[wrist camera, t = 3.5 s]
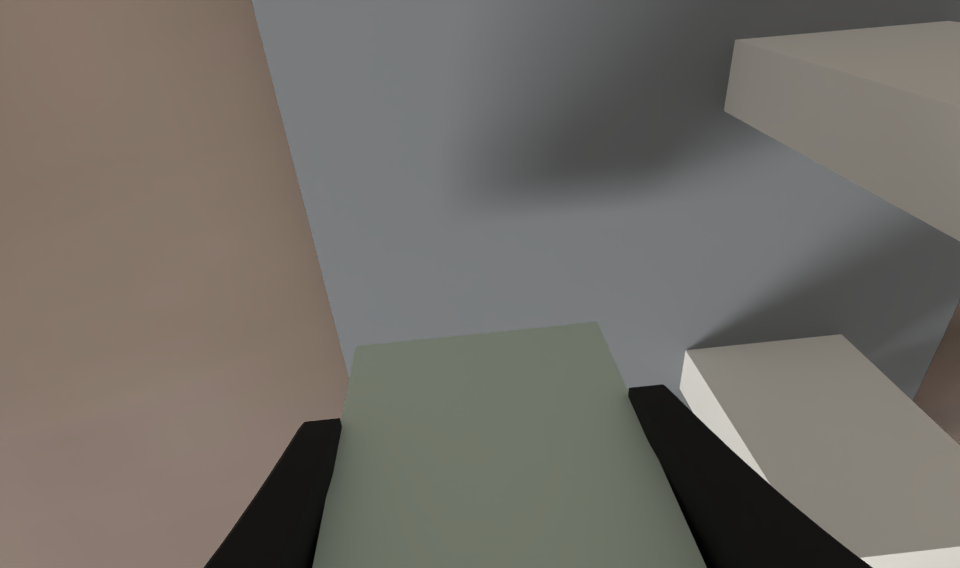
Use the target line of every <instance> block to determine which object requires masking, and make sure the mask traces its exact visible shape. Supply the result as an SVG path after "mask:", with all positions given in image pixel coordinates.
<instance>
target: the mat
mask: <svg viewBox="0 0 960 568" xmlns="http://www.w3.org/2000/svg"><path fill="white" fill-rule="evenodd" d="M252 4H253V8H254V12H255V16H256V20H257V24H258V27H259V31H260V35H261V39H262V43H263V47H264V51H265V55H266V58H267V62H268V66H269V70H270V74H271V78H272V82H273V86H274V89H275V93H276V97H277V101H278V105H279V109H280V113H281V117H282V120H283V124H284V128H285V132H286V136H287V140H288V144H289V148H290V151H291V155H292V159H293V163H294V167H295V171H296V175H297V179H298V182H299V186H300V190H301V194H302V198H303V202H304V206H305V210H306V213H307V217H308V221H309V225H310V229H311V233H312V237H313V241H314V244H315V248H316V252H317V256H318V260H319V264H320V268H321V272H322V275H323V279H324V283H325V287H326V291H327V295H328V299H329V303H330V307H331V310H332V314H333V318H334V322H335V326H336V330H337V334H338V338H339V341H340V345H341V349H342V353H343V357H344V361H345V365H346V369H347V372H348V376H349V378H350V373H351V368H352V363H353V358H354V352H355V347H356V346H362V345H372V344H382V343H391V342H401V341H411V340H421V339H431V338H440V337H450V336H460V335H470V334H479V333H489V332H499V331H509V330H519V329H528V328H538V327H548V326H558V325H568V324H577V323H587V322H597V323H598V325H599V327H600V330H601V332H602V334H603V336H604V339H605V341H606V343H607V345H608V347H609V350H610V352H611V354H612V356H613V359H614V361H615V363H616V365H617V368H618V370H619V372H620V374H621V377H622V379H623V381H624V383H625V386H626V388H627V390H628V392H629V388H632V387H641V386H651V385H660V384H664V385H665V386H666V387H667V388H668V389H669V390H670V391H671V392H672V393H673V394H674V395H675V396H677V397H678V398H679V399H680V400H681V401H682V402H683V403H684V404H685V405H686V406H687V407H688V408H689V409H690V410H691V408H690V406H689V404H688V403H687V401H686V399H685V397H684V396H683V394H682V392H681V390H680V382H681V376H682V370H683V363H684V357H685V351H686V350H693V349H702V348H712V347H722V346H731V345H741V344H751V343H760V342H770V341H780V340H789V339H799V338H809V337H819V336H828V335H838V334H842V335H843V336H844V337H845V338H846V339H847V340H848V341H849V342H850V343H851V344H852V345H854V346H855V347H856V348H857V349H858V350H859V351H860V352H861V353H862V354H863V355H864V356H865V357H866V358H867V359H868V360H870V361H871V362H872V363H873V364H874V365H875V366H876V367H877V368H878V369H879V370H880V371H881V372H882V373H883V374H884V375H885V376H887V377H888V378H889V379H890V380H891V381H892V382H893V383H894V384H895V385H896V386H897V387H898V388H899V389H900V390H901V391H902V392H904V393H905V394H906V395H907V396H908V397H909V398H910V399H911V400H912V401H913V400H914V398H915V396H916V394H917V391H918V389H919V387H920V385H921V383H922V381H923V378H924V376H925V374H926V372H927V370H928V368H929V365H930V363H931V361H932V359H933V357H934V355H935V353H936V350H937V348H938V346H939V344H940V342H941V340H942V337H943V335H944V333H945V331H946V329H947V327H948V325H949V322H950V320H951V318H952V316H953V314H954V312H955V309H956V307H957V305H958V303H959V301H960V241H958V240H956V239H954V238H953V237H951V236H949V235H947V234H945V233H943V232H942V231H940V230H938V229H936V228H934V227H933V226H931V225H929V224H927V223H925V222H924V221H922V220H920V219H918V218H916V217H915V216H913V215H911V214H909V213H907V212H906V211H904V210H902V209H900V208H898V207H896V206H895V205H893V204H891V203H889V202H887V201H886V200H884V199H882V198H880V197H878V196H877V195H875V194H873V193H871V192H869V191H868V190H866V189H864V188H862V187H860V186H858V185H857V184H855V183H853V182H851V181H849V180H848V179H846V178H844V177H842V176H840V175H839V174H837V173H835V172H833V171H831V170H830V169H828V168H826V167H824V166H822V165H821V164H819V163H817V162H815V161H813V160H811V159H810V158H808V157H806V156H804V155H802V154H801V153H799V152H797V151H795V150H793V149H792V148H790V147H788V146H786V145H784V144H783V143H781V142H779V141H777V140H775V139H773V138H772V137H770V136H768V135H766V134H764V133H763V132H761V131H759V130H757V129H755V128H754V127H752V126H750V125H748V124H746V123H745V122H743V121H741V120H739V119H737V118H736V117H734V116H732V115H730V114H728V113H726V112H725V111H724V106H725V100H726V94H727V87H728V81H729V75H730V68H731V62H732V56H733V50H734V43H735V40H738V39H749V38H761V37H772V36H783V35H794V34H806V33H817V32H828V31H839V30H851V29H862V28H873V27H884V26H896V25H907V24H918V23H929V22H941V21H954V22H960V0H252ZM691 411H692V410H691Z"/></svg>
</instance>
